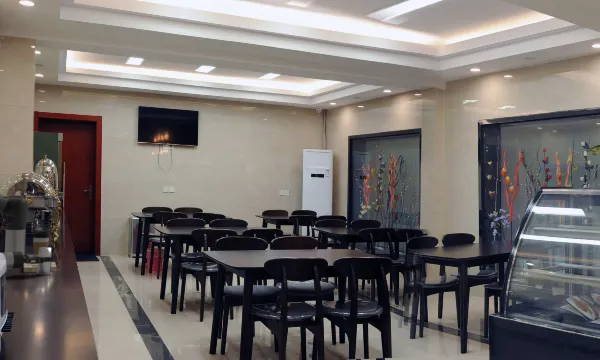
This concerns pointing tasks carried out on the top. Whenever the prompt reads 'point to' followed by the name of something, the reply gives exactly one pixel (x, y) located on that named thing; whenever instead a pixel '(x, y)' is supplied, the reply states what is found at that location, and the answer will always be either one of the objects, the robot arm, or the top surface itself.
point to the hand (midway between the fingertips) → (50, 258)
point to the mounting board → (35, 267)
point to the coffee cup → (40, 241)
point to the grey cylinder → (46, 266)
